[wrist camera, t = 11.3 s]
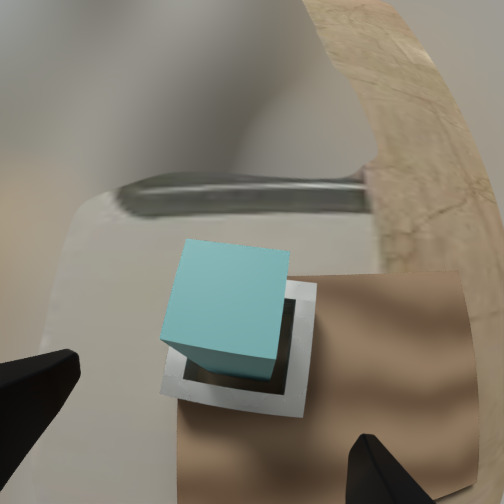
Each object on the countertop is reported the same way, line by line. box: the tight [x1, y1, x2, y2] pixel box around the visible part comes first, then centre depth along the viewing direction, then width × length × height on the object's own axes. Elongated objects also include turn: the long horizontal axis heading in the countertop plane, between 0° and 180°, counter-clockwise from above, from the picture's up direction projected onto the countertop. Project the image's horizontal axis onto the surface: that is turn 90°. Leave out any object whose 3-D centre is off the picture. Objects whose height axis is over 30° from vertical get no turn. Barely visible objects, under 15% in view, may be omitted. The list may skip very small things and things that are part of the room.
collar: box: [160, 280, 317, 418], centre depth 19 cm, size 8×8×4 cm
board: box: [177, 270, 479, 504], centre depth 19 cm, size 19×23×1 cm
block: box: [160, 239, 290, 382], centre depth 16 cm, size 4×4×11 cm
